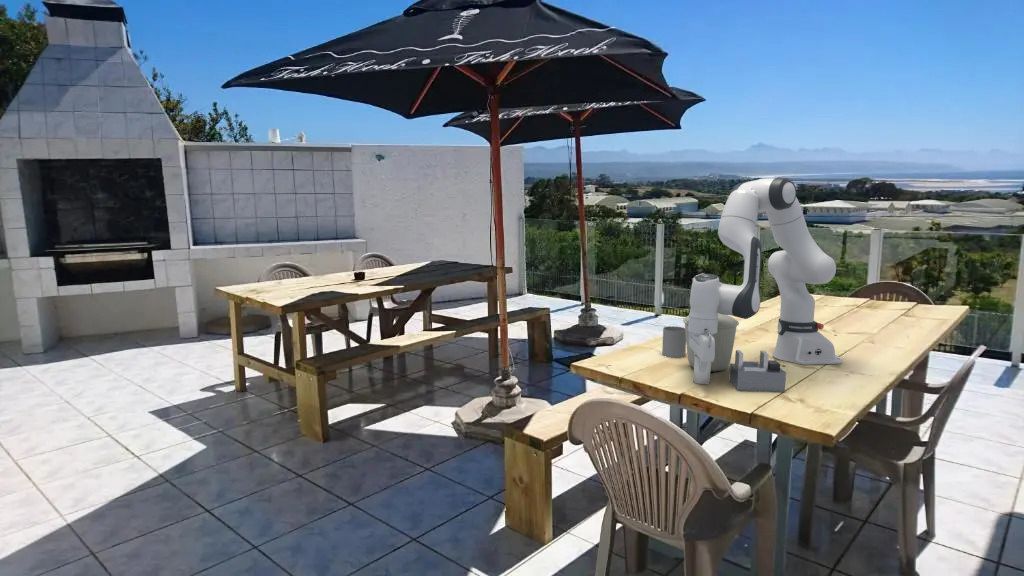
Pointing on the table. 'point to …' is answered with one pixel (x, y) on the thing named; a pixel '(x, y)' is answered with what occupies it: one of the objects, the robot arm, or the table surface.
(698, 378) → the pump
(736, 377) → the grey holder stand
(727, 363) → the canister
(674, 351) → the cup
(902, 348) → the table surface
